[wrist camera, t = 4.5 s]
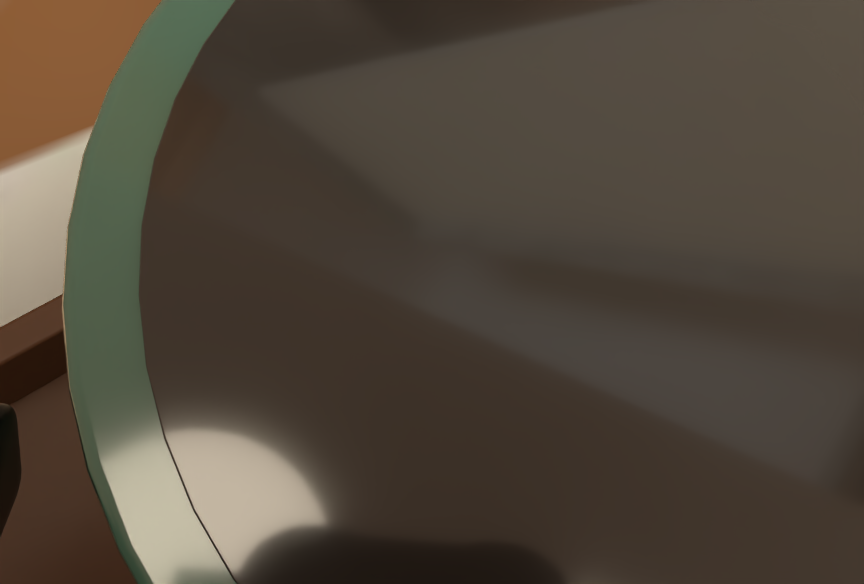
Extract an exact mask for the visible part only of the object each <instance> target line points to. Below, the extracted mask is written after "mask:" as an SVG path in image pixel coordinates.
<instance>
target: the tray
mask: <svg viewBox="0 0 864 584" xmlns="http://www.w3.org/2000/svg"><path fill="white" fill-rule="evenodd" d="M62 298H63V294H62V295H60V296H58V297H56V298H54V299H53V300H51V301H49V302H47V303H45V304H43V305H41V306H39V307H38V308H36V309H34V310H32V311H30V312H28V313H26V314H24V315H23V316H21V317H19V318H17V319H15V320H13V321H11V322H9V323H8V324H6V325H4V326H2V327H0V403H4V404H8V405H10V406H11V407H12V408H13V409H14V411H15V413H16V416H17V424H18V435H19V446H20V457H21V470H22V472H21V481H20V486H19V490H18V493H17V496H16V499H15V502H14V504H13V507H12V509H11V512H10V514H9V517H8V520H7V522H6V525H5V527H4V530H3V532H2V535H1V538H0V584H136V583H135V581H134V579H133V577H132V575H131V574H130V572H129V570H128V568H127V567H126V565H125V563H124V561H123V559H122V558H121V556H120V554H119V552H118V550H117V547H116V545H115V542H114V539H113V537H112V534H111V532H110V529H109V526H108V524H107V521H106V519H105V516H104V513H103V511H102V508H101V506H100V503H99V500H98V498H97V495H96V493H95V490H94V487H93V485H92V482H91V480H90V477H89V474H88V472H87V468H86V464H85V459H84V455H83V451H82V446H81V442H80V437H79V433H78V429H77V424H76V420H75V415H74V411H73V407H72V402H71V398H70V393H69V389H68V378H67V365H66V353H65V340H64V327H63V315H62Z"/></svg>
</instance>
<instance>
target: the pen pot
mask: <svg viewBox="0 0 864 584" xmlns="http://www.w3.org/2000/svg"><path fill="white" fill-rule="evenodd" d="M62 315H63V327H64V340H65V353H66V365H67V378H68V389H69V393H70V398H71V402H72V407H73V411H74V415H75V420H76V424H77V429H78V433H79V437H80V442H81V446H82V451H83V455H84V459H85V464H86V468H87V472H88V474H89V477H90V480H91V482H92V485H93V487H94V490H95V493H96V495H97V498H98V500H99V503H100V506H101V508H102V511H103V513H104V516H105V519H106V521H107V524H108V526H109V529H110V532H111V534H112V537H113V539H114V542H115V545H116V547H117V550H118V552H119V554H120V556H121V558H122V559H123V561H124V563H125V565H126V567H127V568H128V570H129V572H130V574H131V575H132V577H133V579H134V581H135V583H136V584H864V0H162V1H161V2H160V3H159V5H158V6H157V7H156V9H155V10H154V11H153V13H152V14H151V15H150V16H149V18H148V19H147V20H146V22H145V23H144V24H143V26H142V28H141V30H140V32H139V34H138V35H137V37H136V39H135V41H134V43H133V44H132V46H131V48H130V50H129V51H128V53H127V55H126V57H125V59H124V61H123V63H122V64H121V66H120V68H119V69H118V71H117V73H116V75H115V77H114V79H113V80H112V82H111V84H110V86H109V88H108V90H107V93H106V95H105V98H104V101H103V103H102V106H101V109H100V111H99V114H98V117H97V119H96V122H95V125H94V127H93V130H92V133H91V135H90V138H89V141H88V143H87V146H86V149H85V151H84V154H83V157H82V162H81V167H80V171H79V176H78V181H77V185H76V190H75V194H74V199H73V204H72V208H71V213H70V218H69V222H68V227H67V238H66V253H65V268H64V283H63V298H62Z"/></svg>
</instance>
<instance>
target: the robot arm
mask: <svg viewBox="0 0 864 584" xmlns="http://www.w3.org/2000/svg"><path fill="white" fill-rule="evenodd" d="M21 472H22V470H21V457H20V446H19V435H18V424H17V416H16V413H15V411H14V409H13V408H12V407H11V406H10V405H8V404H4V403H0V538H1V535H2V532H3V530H4V527H5V525H6V522H7V520H8V517H9V514H10V512H11V509H12V507H13V504H14V502H15V499H16V496H17V493H18V490H19V486H20V481H21Z"/></svg>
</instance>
